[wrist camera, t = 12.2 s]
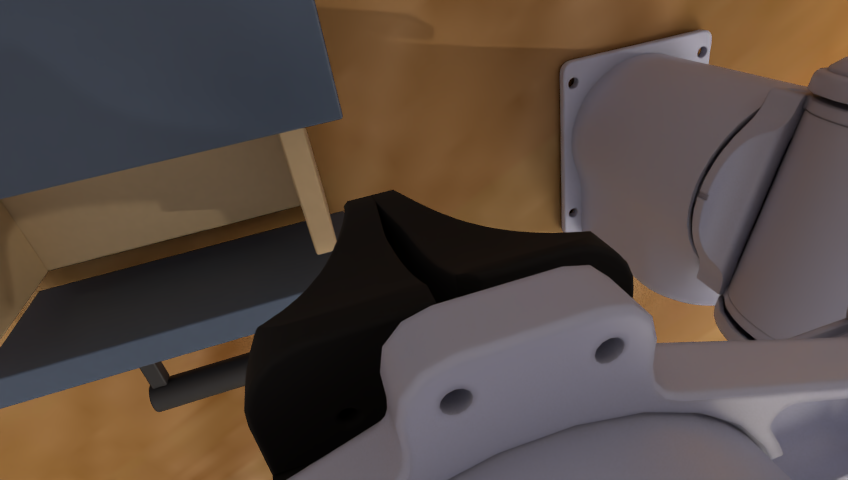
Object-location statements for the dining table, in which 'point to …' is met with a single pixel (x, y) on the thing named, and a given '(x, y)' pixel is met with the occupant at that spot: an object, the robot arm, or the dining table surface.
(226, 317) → the drawer
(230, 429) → the dining table surface
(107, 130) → the cabinet
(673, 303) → the dining table surface
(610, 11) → the dining table surface
